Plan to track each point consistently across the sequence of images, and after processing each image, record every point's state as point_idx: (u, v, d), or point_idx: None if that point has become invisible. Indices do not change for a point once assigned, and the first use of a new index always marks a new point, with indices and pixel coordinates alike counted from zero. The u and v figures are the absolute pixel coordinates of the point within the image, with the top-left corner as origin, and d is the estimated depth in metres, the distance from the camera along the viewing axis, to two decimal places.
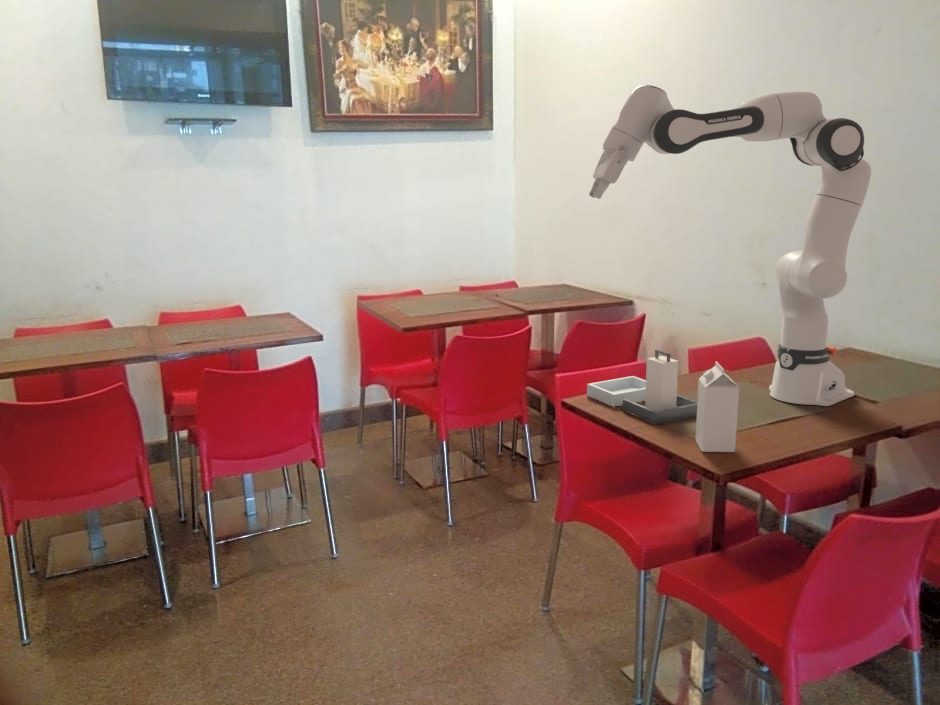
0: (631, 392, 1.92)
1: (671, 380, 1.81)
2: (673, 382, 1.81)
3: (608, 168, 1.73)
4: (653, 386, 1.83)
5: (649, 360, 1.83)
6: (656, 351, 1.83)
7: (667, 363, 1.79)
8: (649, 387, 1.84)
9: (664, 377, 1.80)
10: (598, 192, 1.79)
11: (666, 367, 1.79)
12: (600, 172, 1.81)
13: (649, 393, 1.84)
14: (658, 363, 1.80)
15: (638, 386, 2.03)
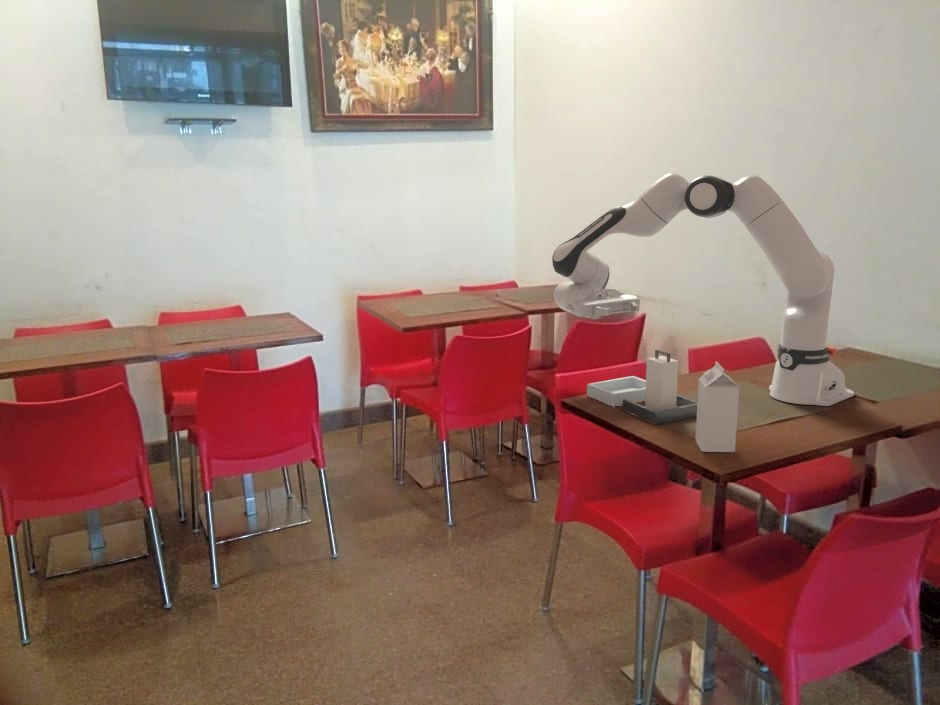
0: (631, 392, 1.92)
1: (671, 380, 1.81)
2: (673, 382, 1.81)
3: (577, 315, 1.96)
4: (653, 386, 1.83)
5: (649, 360, 1.83)
6: (656, 351, 1.83)
7: (667, 363, 1.79)
8: (649, 387, 1.84)
9: (664, 377, 1.80)
10: (604, 312, 1.93)
11: (666, 367, 1.79)
12: None
13: (649, 393, 1.84)
14: (658, 363, 1.80)
15: (638, 386, 2.03)
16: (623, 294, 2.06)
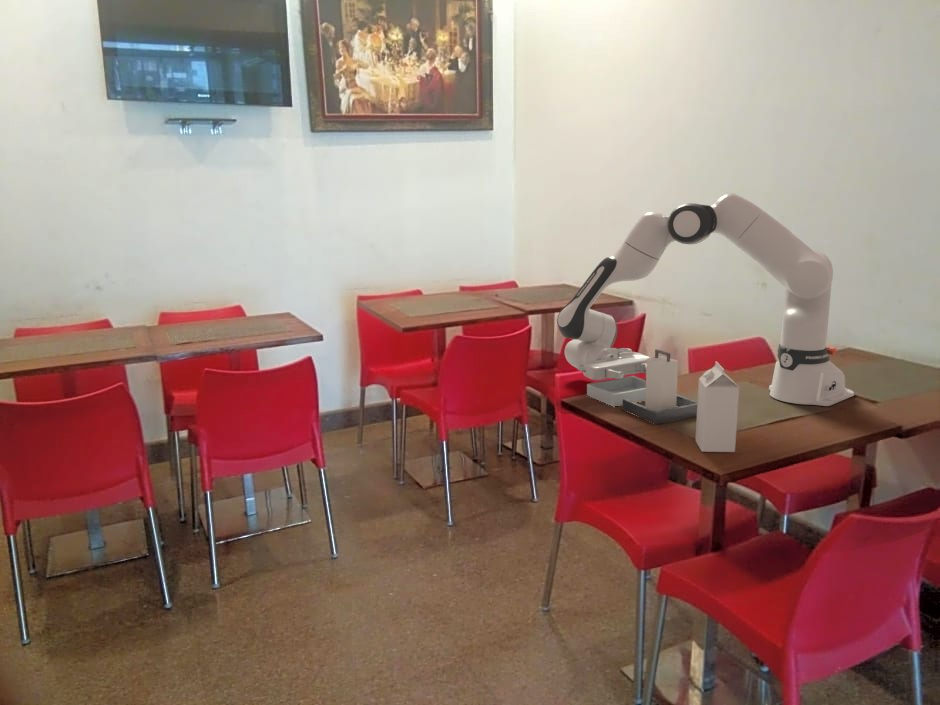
0: (631, 392, 1.92)
1: (671, 380, 1.81)
2: (673, 382, 1.81)
3: (589, 378, 1.95)
4: (653, 386, 1.83)
5: (649, 360, 1.83)
6: (656, 351, 1.83)
7: (667, 363, 1.79)
8: (649, 387, 1.84)
9: (664, 377, 1.80)
10: (616, 376, 1.92)
11: (666, 367, 1.79)
12: None
13: (649, 393, 1.84)
14: (658, 363, 1.80)
15: (638, 386, 2.03)
16: (635, 353, 2.04)
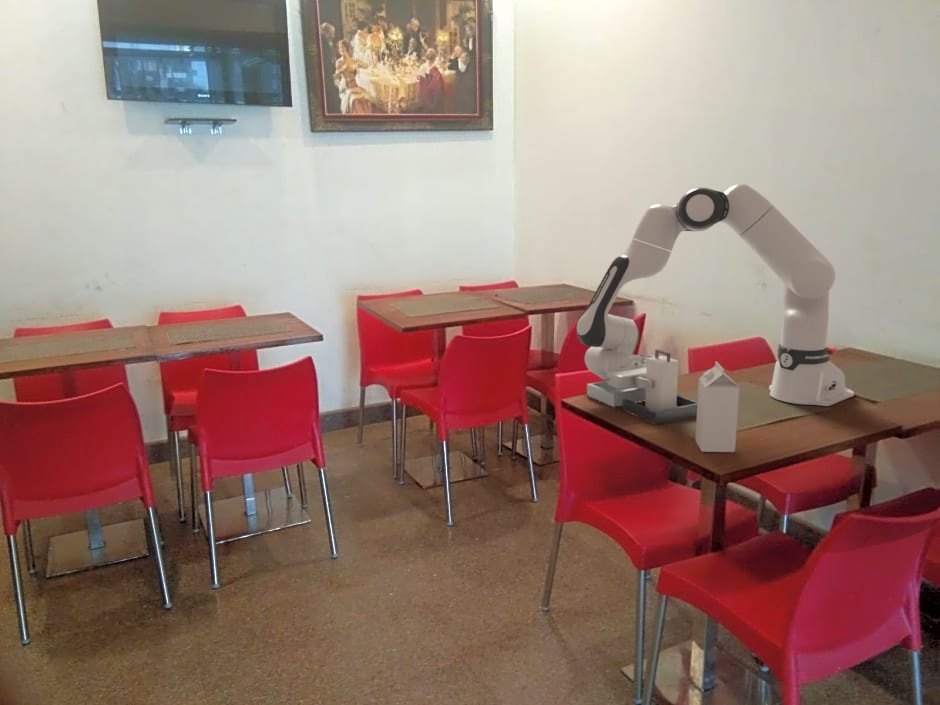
0: (631, 392, 1.92)
1: (671, 380, 1.81)
2: (673, 382, 1.81)
3: (613, 386, 1.86)
4: None
5: (649, 360, 1.83)
6: (656, 351, 1.83)
7: (667, 363, 1.79)
8: None
9: (665, 377, 1.80)
10: (646, 384, 1.83)
11: (666, 367, 1.79)
12: None
13: (649, 393, 1.84)
14: (658, 363, 1.80)
15: (638, 386, 2.03)
16: None
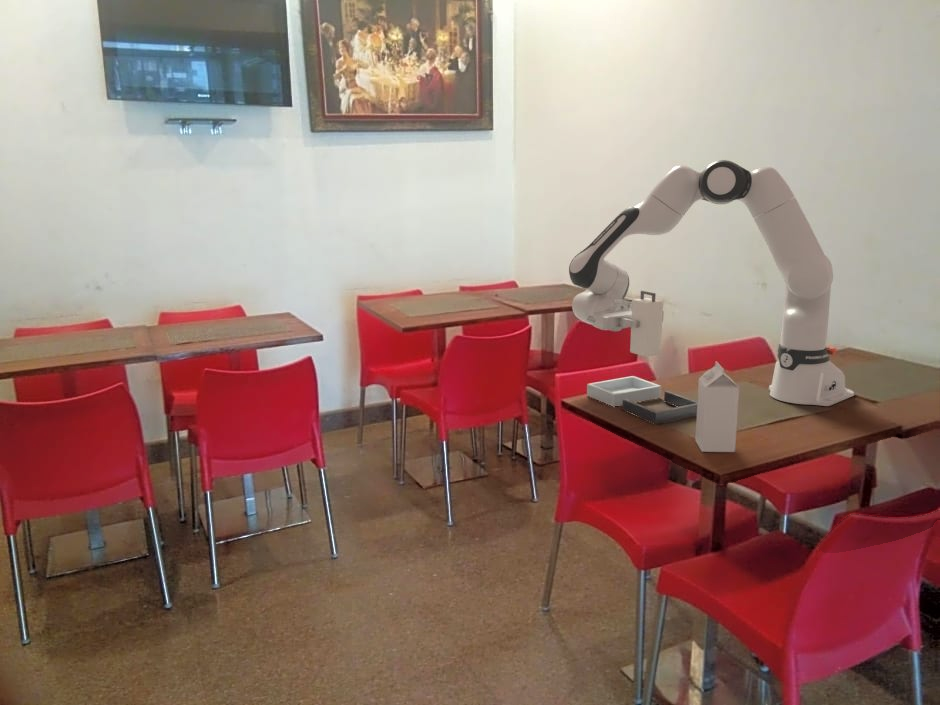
0: (631, 392, 1.92)
1: (656, 321, 1.83)
2: (658, 322, 1.83)
3: (599, 328, 1.88)
4: (638, 327, 1.85)
5: (634, 301, 1.85)
6: (641, 292, 1.85)
7: (652, 303, 1.81)
8: (634, 328, 1.86)
9: (649, 317, 1.82)
10: (632, 324, 1.85)
11: (651, 306, 1.81)
12: None
13: (634, 334, 1.86)
14: (643, 303, 1.82)
15: (638, 386, 2.03)
16: None
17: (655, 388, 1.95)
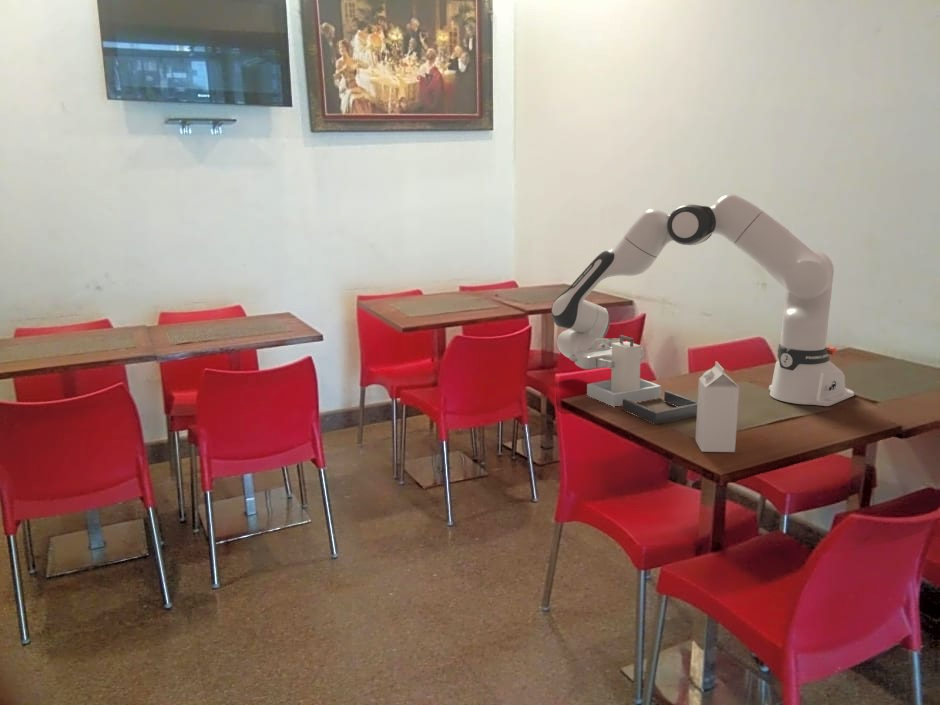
0: (631, 392, 1.92)
1: (634, 364, 1.94)
2: (636, 365, 1.94)
3: (581, 367, 1.98)
4: (617, 370, 1.95)
5: (614, 345, 1.95)
6: (621, 337, 1.96)
7: (630, 347, 1.92)
8: (614, 371, 1.97)
9: (628, 361, 1.92)
10: (607, 365, 1.94)
11: (629, 351, 1.92)
12: None
13: (615, 376, 1.97)
14: (622, 348, 1.92)
15: None
16: None
17: (655, 388, 1.95)
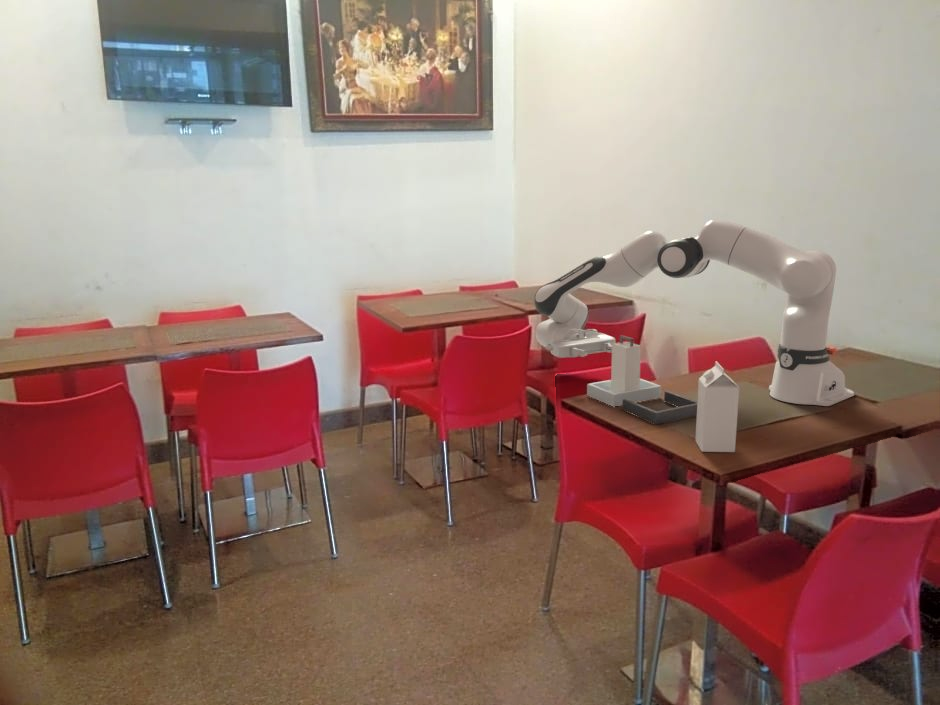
0: (631, 392, 1.92)
1: (634, 364, 1.94)
2: (636, 365, 1.94)
3: (556, 355, 2.08)
4: (617, 370, 1.95)
5: (614, 345, 1.95)
6: (621, 337, 1.96)
7: (630, 347, 1.92)
8: (614, 371, 1.97)
9: (628, 361, 1.92)
10: (580, 354, 2.05)
11: (629, 351, 1.92)
12: None
13: (615, 376, 1.97)
14: (622, 348, 1.92)
15: None
16: (600, 334, 2.18)
17: (655, 388, 1.95)
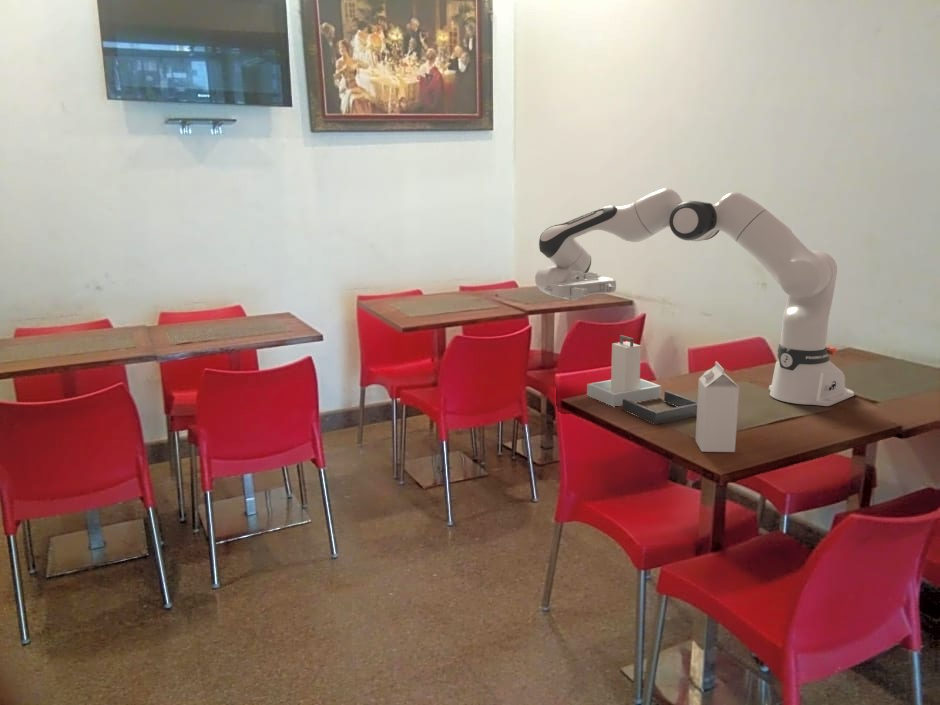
0: (631, 392, 1.92)
1: (634, 364, 1.94)
2: (636, 365, 1.94)
3: (555, 296, 2.05)
4: (617, 370, 1.95)
5: (614, 345, 1.95)
6: (621, 337, 1.96)
7: (630, 347, 1.92)
8: (614, 371, 1.97)
9: (628, 361, 1.92)
10: (580, 293, 2.01)
11: (629, 351, 1.92)
12: None
13: (615, 376, 1.97)
14: (622, 348, 1.92)
15: None
16: (600, 276, 2.14)
17: (655, 388, 1.95)
